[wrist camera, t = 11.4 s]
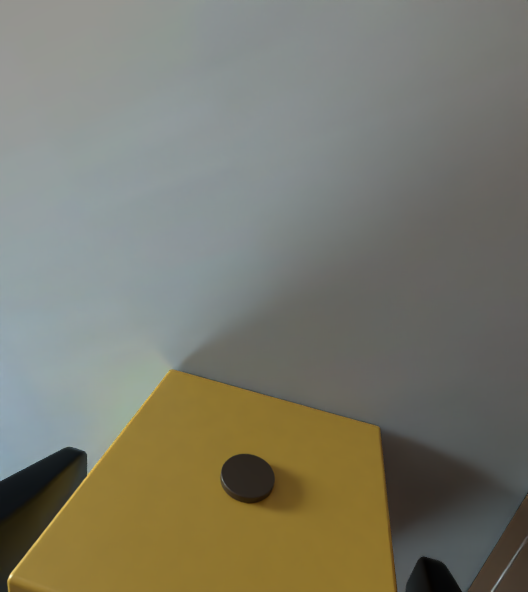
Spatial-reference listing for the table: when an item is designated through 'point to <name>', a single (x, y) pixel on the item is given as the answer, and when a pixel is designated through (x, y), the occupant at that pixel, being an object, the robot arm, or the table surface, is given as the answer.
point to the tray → (507, 558)
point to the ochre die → (223, 502)
